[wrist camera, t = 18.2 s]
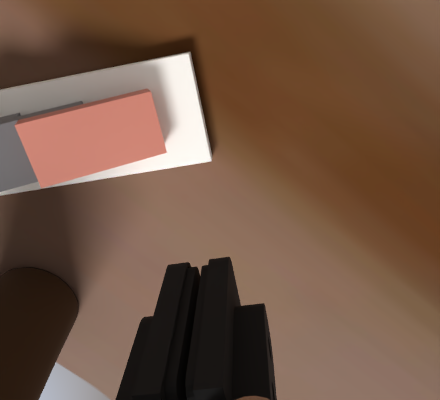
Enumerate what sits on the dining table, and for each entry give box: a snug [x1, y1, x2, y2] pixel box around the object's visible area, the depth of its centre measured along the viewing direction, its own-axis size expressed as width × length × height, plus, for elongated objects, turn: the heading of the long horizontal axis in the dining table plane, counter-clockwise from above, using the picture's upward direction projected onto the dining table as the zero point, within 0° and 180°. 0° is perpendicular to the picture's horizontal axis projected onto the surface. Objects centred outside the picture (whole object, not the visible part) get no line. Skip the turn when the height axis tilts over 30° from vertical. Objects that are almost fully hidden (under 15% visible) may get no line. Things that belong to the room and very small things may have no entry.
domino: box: [0, 101, 83, 192], centre depth 32 cm, size 2×5×10 cm
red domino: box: [15, 89, 167, 188], centre depth 31 cm, size 2×5×10 cm
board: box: [0, 52, 212, 196], centre depth 35 cm, size 27×9×1 cm, turn 101°
